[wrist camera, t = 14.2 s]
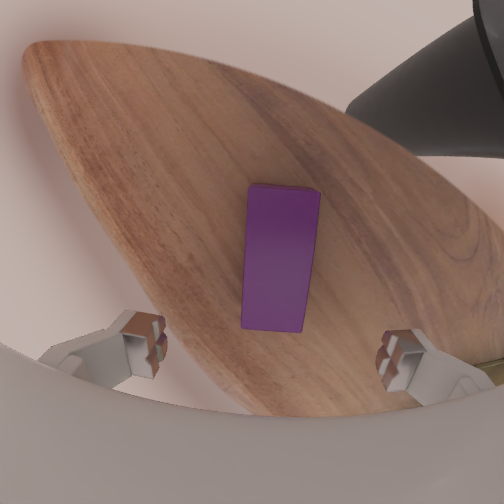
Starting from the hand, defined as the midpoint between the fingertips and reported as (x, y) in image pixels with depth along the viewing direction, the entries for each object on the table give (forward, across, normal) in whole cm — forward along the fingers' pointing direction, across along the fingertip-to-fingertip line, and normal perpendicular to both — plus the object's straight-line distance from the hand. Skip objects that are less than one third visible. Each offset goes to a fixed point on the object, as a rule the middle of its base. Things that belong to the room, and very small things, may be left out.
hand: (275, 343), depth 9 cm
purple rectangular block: (+10, 0, 0) cm, 10 cm away
